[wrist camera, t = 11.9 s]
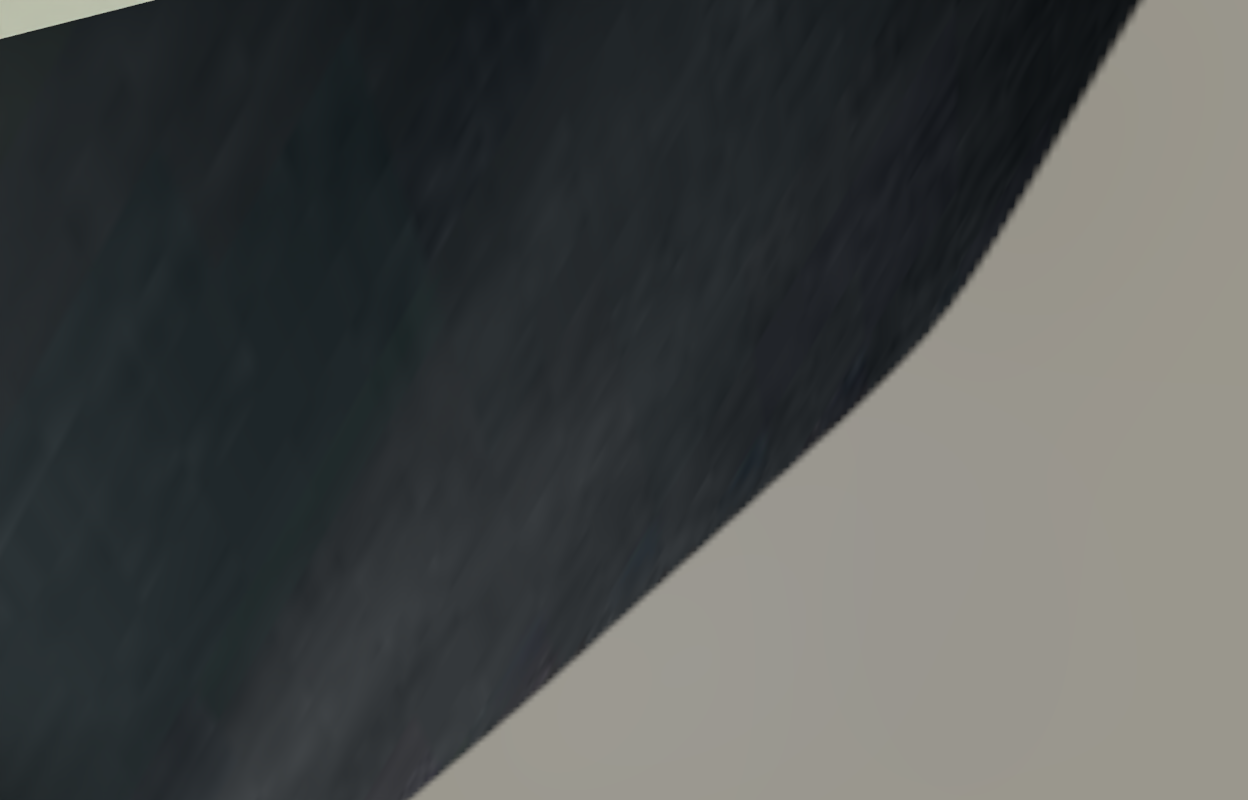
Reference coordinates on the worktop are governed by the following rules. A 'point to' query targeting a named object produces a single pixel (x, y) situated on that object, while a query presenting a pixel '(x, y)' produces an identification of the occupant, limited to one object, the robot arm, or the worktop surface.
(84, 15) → the sage mat
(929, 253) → the worktop surface
